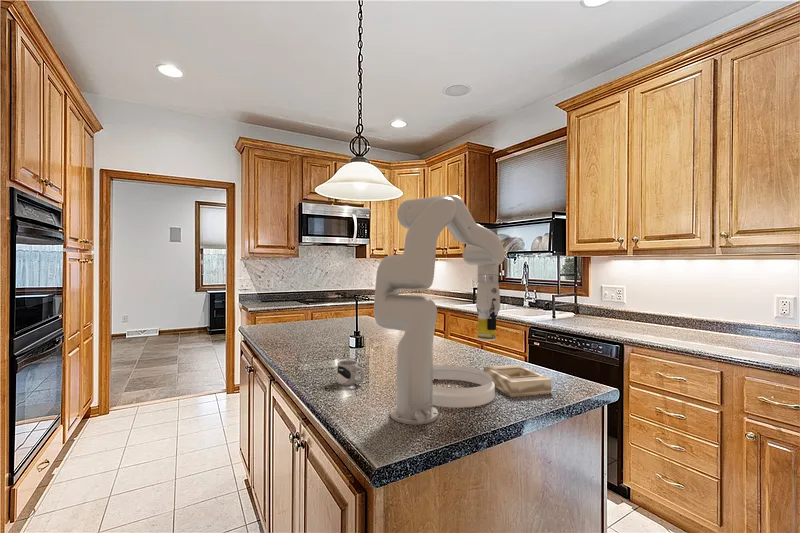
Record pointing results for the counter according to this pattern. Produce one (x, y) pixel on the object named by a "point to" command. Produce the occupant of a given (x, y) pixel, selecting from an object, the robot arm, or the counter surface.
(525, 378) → the socket block
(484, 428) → the counter surface
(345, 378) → the mug
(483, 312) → the pill bottle
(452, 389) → the white open ring
